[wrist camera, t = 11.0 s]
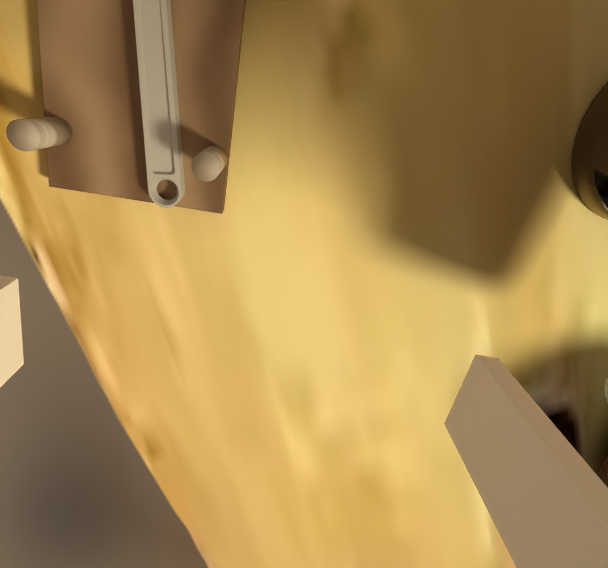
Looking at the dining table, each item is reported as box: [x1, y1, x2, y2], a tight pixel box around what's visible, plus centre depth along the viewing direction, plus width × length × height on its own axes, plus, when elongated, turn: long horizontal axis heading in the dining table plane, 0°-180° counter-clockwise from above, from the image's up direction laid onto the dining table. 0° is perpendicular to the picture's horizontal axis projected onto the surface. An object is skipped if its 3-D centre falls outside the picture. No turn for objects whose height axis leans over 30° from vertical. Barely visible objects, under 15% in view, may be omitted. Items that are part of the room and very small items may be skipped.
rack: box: [6, 0, 246, 214], centre depth 27 cm, size 14×27×6 cm, turn 170°
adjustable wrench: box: [133, 0, 185, 208], centre depth 29 cm, size 25×6×2 cm, turn 172°
